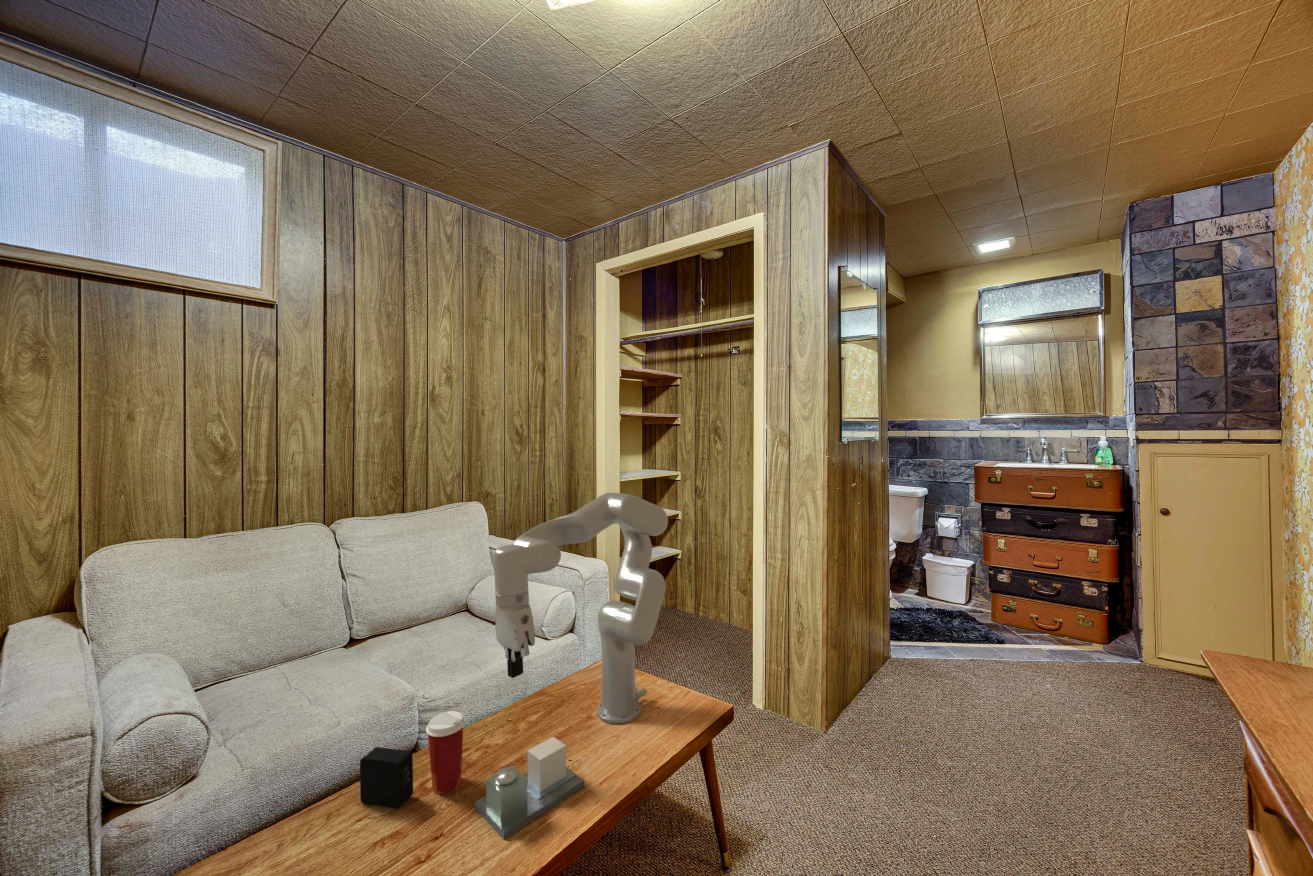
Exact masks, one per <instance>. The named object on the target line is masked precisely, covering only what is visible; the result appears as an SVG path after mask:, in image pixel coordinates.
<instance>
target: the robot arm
mask: <svg viewBox="0 0 1313 876" xmlns="http://www.w3.org/2000/svg"><path fill="white" fill-rule="evenodd" d="M614 524H617V525H618V526H619V528H620V531H621V533H622V536H623V540H624V547H623V552H622V556H621V557H620V562H619V565H618V568H617V572H616V574H615V578H614V581H613V583H614V584H613V589H614V591H615V592H616V594H617V595H619V596H621V597H623V598H625V599H630V600H632V601H635V605H634V604H631V603H628V602H624V601H619V600H608V601H607V602H605V603H604V604H603V605H602V606H601V607H600V609H599V610H598V614H597V625H598V626H597V627H598V631H599V636H600V643H601V690H602V691H601V693H602V694H601V696H602V698H601V702H600V703H599V704H598V706H597V708H596V712H597V714H596V715H597V717H598V718H599V719H600V720H601V721H603V722H605V723H609V724H625V723H629V722H632V721H633V720H635V719H637V718H639V716H640V715H641V712H642V707H641V703H640V702H639V700H640V698H641V697H643V696H645V695H648V694H647V693H648V691H647V689H646V687H642V688H640V689H639V690H638V688H637V687H636V659H635V658H636V651H635V650H636V648H635V645H637V646H639V645H640V646H641V645H644V644H646V643H648V641H650V639H651V638H652V636H653V635H654V631H655V629H656V625H657V621H658V619H659V616H660V612H661V608H662V605H663V601H664V597H665V593H666V583H665V578H664V576H663V575H662V573H660V572H659V571H657V570H655V569H652V568H649V566H650V562H651V558H652V553H653V546H652V545H653V544H652V542H651V541H652V540H651V538H650V537H651V536H652V537H657V536H660V535H662V534H663V533H664V532H665V531H666V530H667V527H668V524H669V517H668V515H667V512H666V511H665V509H663V508H662V507H660V506H658V505H657V504H654V503H652V502H650V501H647V500H646V499H643V498H640V497H639V496H636V495H633V494H630V493H621V492H620V493H618V492H606V493H603V494H600V496H598V497H596V498H595V499H593V500H592V501H590V502H588V503H587V504H584V505H583V506H582V507H580V508H578V509H577V510H575V511H573V512H571V513H569V514H566V515H563V516H559V517H557V518H554V519H551V520H547V521H546V522H542V523H540V524H538V525H536V526H534V527H531V528H530V529H529V530H526V531H525V532H523V533H522V534H521V535H519V536H518V537H517V538H515V540H514V541H513V542H512V544H507V545H502V546H500V547H497V548H496V549H495V551H494V553H493V565H494V566H493V567H494V568H493V571H494V589H495V591H494V592H495V637H496V641H497V642H498V643H499V644H500V646H501V647H503V649H504V652H505V659H506V660H507V661H506V663H507V664H506V665H507V676H508V677H510V678H511V679H514V678H516V677H518V676H521V675H522V674H523V673H524V659H523V658H524V657H527V656H529V655H530V647H533V646H535V643H536V638H535V637H536V636H535V626H534V618H533V612H532V608H531V604H530V598H529V597H530V596H529V595H530V594H529V576H528V575H531V574H540V573H541V574H542V573H547V572H550V571H551V570H553V569H555V568H556V567H557V566H558V565H559V563H560V561H561V557H562V552H561V549H560V547H559V546H562V545H563V546H564V545H573V544H580V543H585V542H588V541H590V540H592V539H593V538H594V537H595V536H597V535H598V534H600V533H602V532H603V531H604V530H606V529H607V528H609V527H610V526H612V525H614ZM529 646H530V647H529Z"/></svg>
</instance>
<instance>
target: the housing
mask: <svg viewBox="0 0 1313 876" xmlns="http://www.w3.org/2000/svg"><path fill="white" fill-rule="evenodd" d="M526 752H527V753H526V754H527V758H526V759H527V772H528V782H529V783H531V784H532V785H533V786H534V787H535V788H536V789H538V790H539V791H540V792H541V791H543V790H544V789H546V788H547V787H549V786H551V785H552V784H554V783H556V782H557V781H559V780H560V779H562V778H564V777H565V776H566V767H567V745H566V744H565V743H563V742H562V741H561V740H559V739H557V738H556V737H555V736H552V737H549V738H548V739H546V740H544V741H542V742H541V743H539V744H537V745H535V746H533V747H531V748H530V749H527V750H526Z"/></svg>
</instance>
